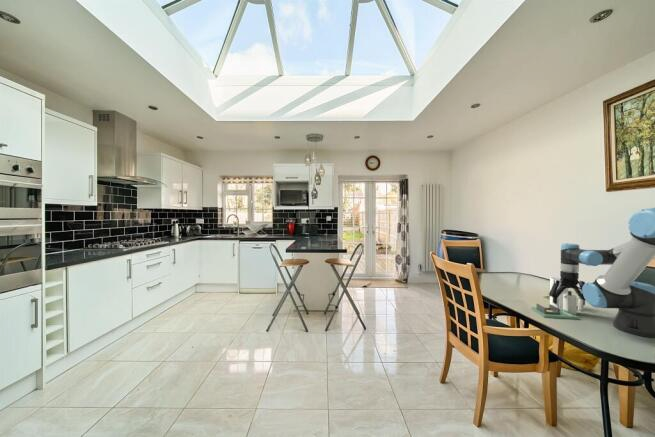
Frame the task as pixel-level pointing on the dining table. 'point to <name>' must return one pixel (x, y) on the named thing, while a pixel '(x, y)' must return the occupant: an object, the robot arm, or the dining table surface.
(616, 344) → the dining table surface
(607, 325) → the dining table surface
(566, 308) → the plug
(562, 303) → the cup
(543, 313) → the header board
